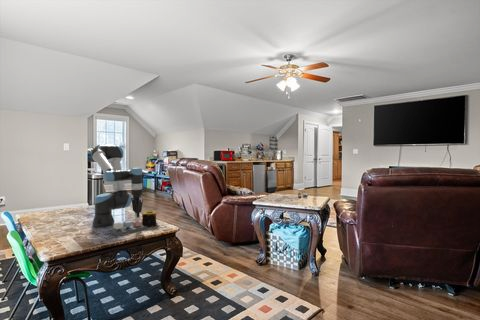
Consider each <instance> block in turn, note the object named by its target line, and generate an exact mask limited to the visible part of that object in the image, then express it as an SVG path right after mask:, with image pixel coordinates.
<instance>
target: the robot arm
mask: <svg viewBox="0 0 480 320" xmlns="http://www.w3.org/2000/svg"><path fill="white" fill-rule="evenodd" d="M90 155H91V156H90V157H91V158H92V160H93V161H94V162H96V163H97V165H98V166H99V168H100V169H101V170H102V172H103V179H104V181H105V182H107V183H108V182H110V183H112V189H113V191H112V193H110V192H108V193H107V192H106V193H101V194H98V195H96V196H95V197H94V216H93V220H92V222H91V223H92V225H91V226H92V227H94V228H105V227H111V226H112V225H113V226H114V224H115V219H114V217H113V214H112V213H113V212H112V211H113V210H118V209H119V210H121V209H125V208H129V207H130V206H131V205H132V211H133V212H134V221H135V222H138V221H141V220H140V213H142V212H143V211H142V209H143V203H144V199H142V195H143V168H142V167H132V168H131V169H122V164H121V162H122V160H123V157H124V150H123V147H122V146H120V145H118V144H98V145H96V146H94V148H93V149H92V150H91V152H90ZM124 181H130V182H131V185H130V186H131V190H130V191H131V193H130V192H128V189H126V186H125V182H124Z"/></svg>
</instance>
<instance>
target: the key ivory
mask: <svg viewBox="0 0 480 320" xmlns="http://www.w3.org/2000/svg"><path fill="white" fill-rule="evenodd" d="M123 227H124V226H123V222H116V223H115V222H114V224H113V229H117V231H120V228H123Z"/></svg>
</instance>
